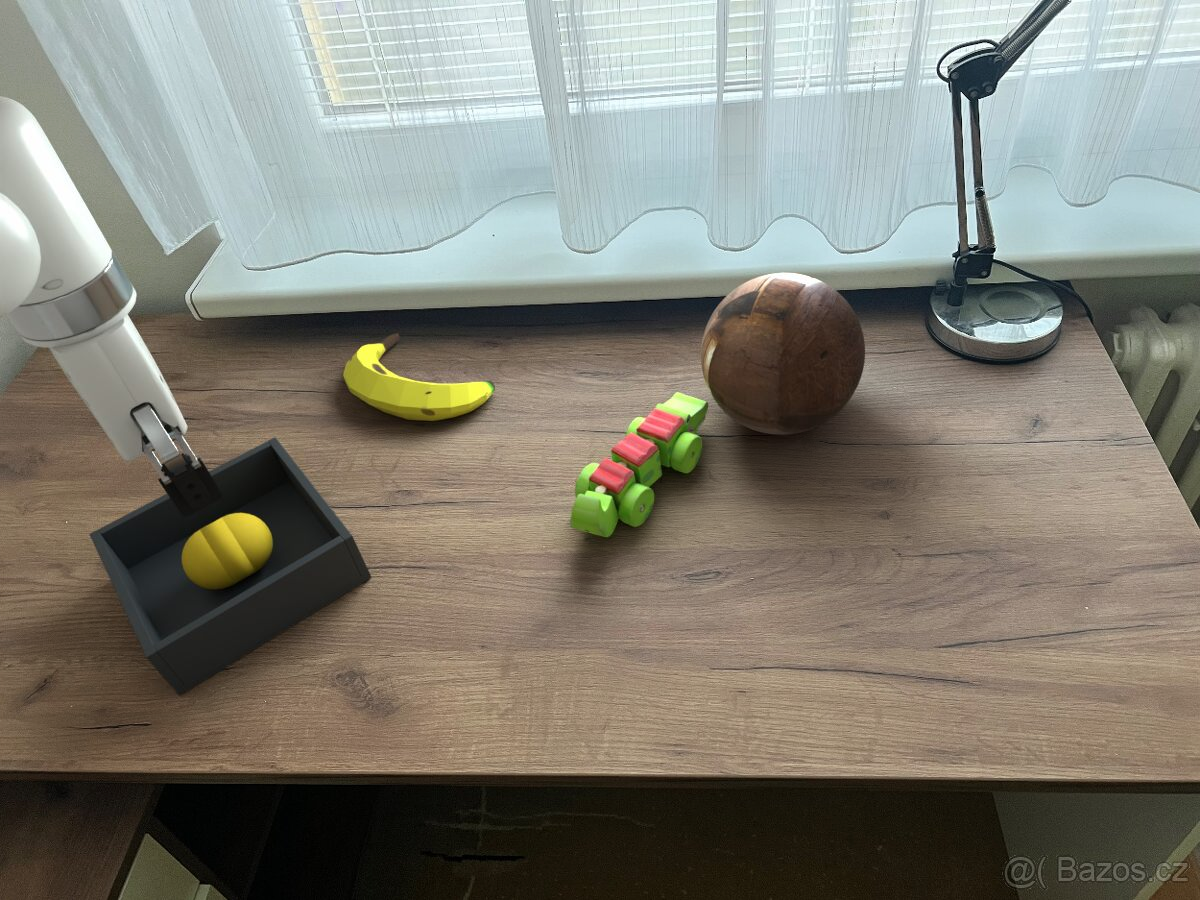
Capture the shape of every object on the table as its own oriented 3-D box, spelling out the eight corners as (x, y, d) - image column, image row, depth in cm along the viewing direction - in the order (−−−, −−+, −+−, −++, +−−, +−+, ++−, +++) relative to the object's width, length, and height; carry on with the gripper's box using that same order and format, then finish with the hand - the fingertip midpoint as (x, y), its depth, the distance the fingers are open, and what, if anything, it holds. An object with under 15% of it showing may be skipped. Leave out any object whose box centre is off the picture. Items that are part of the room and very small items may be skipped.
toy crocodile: (671, 409, 89) (668, 362, 85) (727, 432, 86) (728, 385, 82) (549, 535, 79) (539, 489, 74) (608, 567, 75) (601, 521, 71)
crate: (179, 696, 71) (146, 657, 66) (120, 574, 80) (88, 533, 76) (372, 577, 77) (352, 535, 73) (295, 478, 87) (275, 436, 83)
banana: (479, 397, 87) (514, 326, 99) (314, 384, 89) (368, 316, 101) (483, 435, 89) (517, 361, 101) (323, 421, 92) (374, 351, 104)
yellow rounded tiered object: (210, 613, 75) (182, 573, 71) (189, 574, 79) (161, 534, 75) (291, 565, 78) (269, 525, 74) (267, 530, 81) (244, 489, 78)
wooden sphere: (858, 371, 90) (877, 245, 80) (852, 475, 80) (871, 346, 70) (714, 360, 94) (713, 237, 83) (690, 458, 84) (686, 333, 73)
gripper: (-17, 267, 61) (105, 440, 74) (40, 382, 51) (171, 561, 63) (90, 225, 64) (190, 398, 76) (164, 326, 54) (267, 507, 66)
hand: (182, 471), depth 70 cm, fingers open, 9 cm apart
